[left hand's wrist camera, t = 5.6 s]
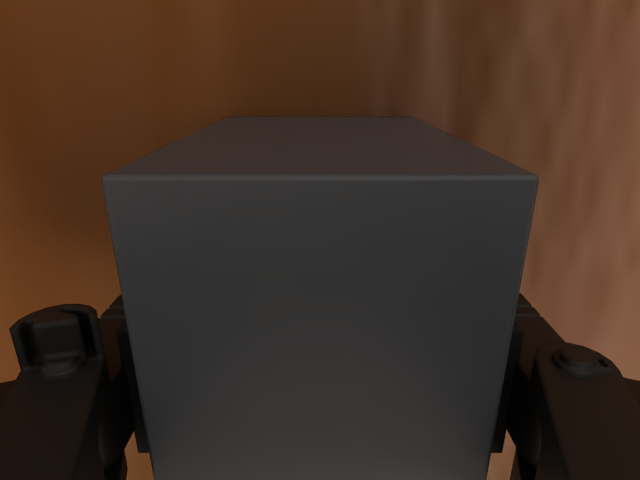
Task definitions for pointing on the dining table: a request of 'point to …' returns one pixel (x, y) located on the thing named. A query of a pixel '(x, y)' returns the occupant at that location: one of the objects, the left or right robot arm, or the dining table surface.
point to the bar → (320, 297)
